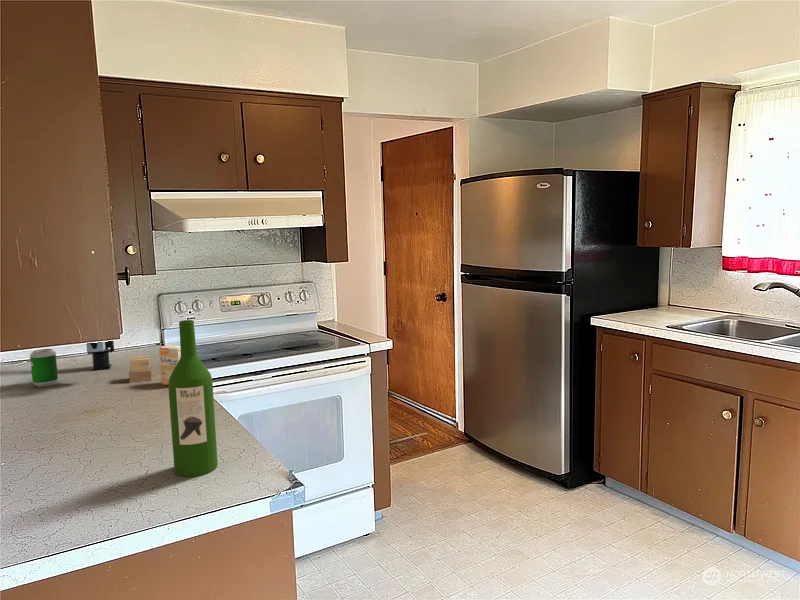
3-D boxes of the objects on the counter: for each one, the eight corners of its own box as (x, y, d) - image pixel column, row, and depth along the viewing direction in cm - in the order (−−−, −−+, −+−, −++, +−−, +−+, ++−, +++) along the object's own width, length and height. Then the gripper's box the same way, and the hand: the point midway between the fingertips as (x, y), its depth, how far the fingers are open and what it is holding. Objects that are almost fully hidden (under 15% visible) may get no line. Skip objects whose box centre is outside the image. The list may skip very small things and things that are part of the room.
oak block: (131, 368, 207) (130, 357, 207) (149, 366, 209) (149, 355, 209) (130, 371, 202) (129, 360, 201) (149, 370, 204) (148, 358, 203)
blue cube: (89, 349, 203) (88, 335, 202) (105, 348, 205) (104, 334, 204) (87, 352, 198) (85, 337, 198) (103, 351, 200) (102, 336, 199)
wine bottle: (175, 480, 121) (164, 326, 117) (173, 464, 130) (163, 320, 126) (220, 472, 125) (210, 322, 121) (215, 457, 133) (206, 316, 129)
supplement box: (160, 385, 198) (158, 347, 196) (171, 381, 202) (168, 344, 201) (179, 386, 195) (177, 348, 193) (190, 383, 199) (187, 345, 198)
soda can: (63, 381, 205) (60, 348, 204) (48, 387, 198) (45, 352, 196) (43, 381, 206) (40, 348, 204) (27, 387, 198) (24, 352, 197)
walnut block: (131, 379, 208) (130, 368, 207) (153, 377, 210) (152, 366, 210) (129, 383, 201) (128, 372, 201) (151, 381, 203) (150, 370, 203)
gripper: (114, 304, 193) (118, 350, 195) (121, 298, 211) (124, 340, 213) (77, 306, 190) (81, 353, 192) (86, 300, 207) (90, 343, 209)
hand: (96, 347), depth 201 cm, fingers closed on blue cube, 5 cm apart
